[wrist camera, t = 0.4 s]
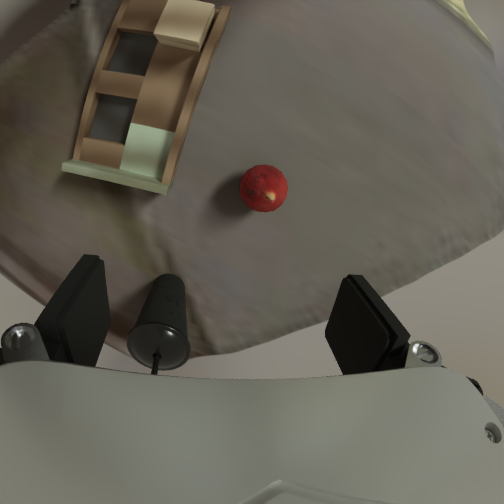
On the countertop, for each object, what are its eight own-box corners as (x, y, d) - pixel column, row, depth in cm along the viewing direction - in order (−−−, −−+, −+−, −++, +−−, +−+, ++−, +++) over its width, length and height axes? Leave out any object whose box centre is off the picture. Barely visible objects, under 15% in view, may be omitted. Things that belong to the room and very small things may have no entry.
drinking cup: (188, 312, 46) (182, 416, 28) (142, 301, 44) (115, 402, 27) (199, 272, 44) (195, 375, 26) (149, 259, 42) (116, 357, 24)
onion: (233, 199, 40) (238, 218, 32) (241, 157, 37) (249, 166, 30) (275, 205, 41) (289, 225, 34) (284, 165, 38) (301, 176, 31)
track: (130, 1, 25) (119, -14, 20) (229, 18, 29) (231, 3, 24) (79, 163, 34) (61, 170, 29) (172, 184, 38) (166, 195, 33)
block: (175, 10, 25) (170, -4, 21) (214, 18, 27) (214, 4, 22) (160, 44, 27) (153, 33, 23) (200, 52, 28) (198, 42, 24)
